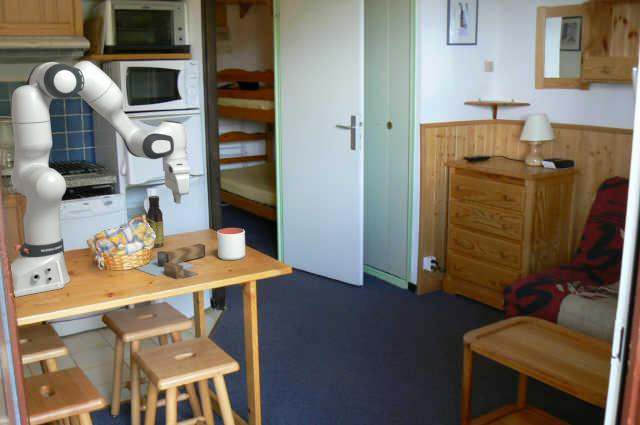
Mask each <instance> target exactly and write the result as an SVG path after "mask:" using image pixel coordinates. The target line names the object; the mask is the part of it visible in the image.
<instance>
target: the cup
mask: <svg viewBox="0 0 640 425" xmlns="http://www.w3.org/2000/svg"><path fill="white" fill-rule="evenodd" d="M216 233H217V234H216V235H217V236H216V237H217V257H218V258H220V259H221V260H223V261H237V260H241V259H243V258H244V257H245V255H246V235H245V234H246V231H245V230H244V228H243V229H242V228H239V227H238V228H237V227H227V228H226V227H225V228H222V229H218V230H217V231H216Z"/></svg>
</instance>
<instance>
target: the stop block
mask: <svg viewBox="0 0 640 425" xmlns="http://www.w3.org/2000/svg"><path fill="white" fill-rule="evenodd" d="M197 275H199V273H197V272H195V271H192V270H188V269H187V268H186V269H183V266H182V265H179V264H176V263H173V262H168V263H164V276H166V277H169V278H171V279H175V280H179V279H186V278H190V277H193V276H197Z"/></svg>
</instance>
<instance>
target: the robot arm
mask: <svg viewBox="0 0 640 425" xmlns="http://www.w3.org/2000/svg"><path fill="white" fill-rule="evenodd" d="M76 94H77V95H79V96H80V97H81V98H82V99H83V100H84V101H85V102H86V103H87V104H88V105H89V106H90V107H91V108H92V109H93V110H95V112H96V113H98V114H99V115H100V116H102V117H103V118H104V119H105V121H106V122H107V123H109V125H110V126H111V127H112V128H113V129H114V130H115V131H116V133H118V135H119V136H120V137H121V139H122V140H123V143H124V146H125V148H126V150H127V151H128V153H129V154H130V155H132V156H133V157H137V158H143V159H144V158H145V159H149V160H157V159H161V161H162V170H163V172H164V185H165V187H166V188H167V189H169V190H171V193H172V196H173V202H174V203H175V204H177V205H179V204H181V203H182V201H181V200H182V196H185V195H186V196H187V195H189V192H190V174H191V167H190V165H189V161H188V154H187V150H186V149H187V132H186V128H185V125H184V124H183V123H182V122H180V121H175V120H166V119H165V120H163V121H162V122H161V123H160V124H159V125H158V126H156V127H154V128H153V129H151V130H145V129H143V128H140V127H138V126H137V125H136V124H134V122H133V121H132V120H131V119H130V117H129V116H128V115H127V114H126V113H125V111H124V110H123V108H122V107H123V104H124V102H125V98H124V94H123V92H122V91H121V89H120V88H119V86H118V85H117V84H116V83H115V82H114V81H113V80H112V78H111V77H110V76H109V75H108V74H106V72H104V71H103V70H102V69H101V68H100V67H98V66H97V65H95V64H94V63H93V62H91V61H90V60H82V61H79V62H77V63H75V64H74V65H73V66H72V65H68V64H65V63H58V62H56V61H55V62H53V61H51V62H41V63H39V64H36V65H35V66H34V67H33V68H32V70H31V72H30V73H29V76H28V78H27V80H26V83H25V85H22V86H18V87H17V88H16V89H15V90H14V91H13V92H12V96H11V121H12V123H11V124H12V132H13V142H14V157H13V168H12V169H13V170H12V172H11V175H10V181H11V184H12V187H13V188H14V190H16V192H18V194H20V195H22V196H25V197H26V208H25V212H24V213H25V214H24V216H23V217H22V218H23V219H22V225H23V232H24V243H23V244H19V243H16V244H14V246H13V249H14V250H15V251H17V252H20V254H19V255H18V257H17V258H15V259H14V261H12V263H11V264H9V265H11V271H12V278H13V286H14V294H15V297H22V296H28V295H32V294H38V293H44V292H49V291H53V290H60V289H63V288H65V286H66V284H68V283H69V282H70V281H71V277H70V274H69V273H68V272H69V271H68V269H67V264H66V261H65V257H64V255H65V246H64V239H63V238H62V231H61V230H62V229H61V208H62V207H61V206H62V200H63V199H62V198H63V196H64V195H65V193H66V190H67V183H66V182H67V181H66V179H65V178H64V177H63V176H62V174H60V172H58V171H57V170H56V169H54V168H51V167H50V166H49V161H50V160H49V159H50V153H51V150H52V148H53V136H52V127H51V126H52V125H51V117H50V111H49V110H50V105H51V102H52V100H53V99H63V100H64V99H67V98H71V97H72V96H73V95H76ZM15 297H14V298H15Z"/></svg>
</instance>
